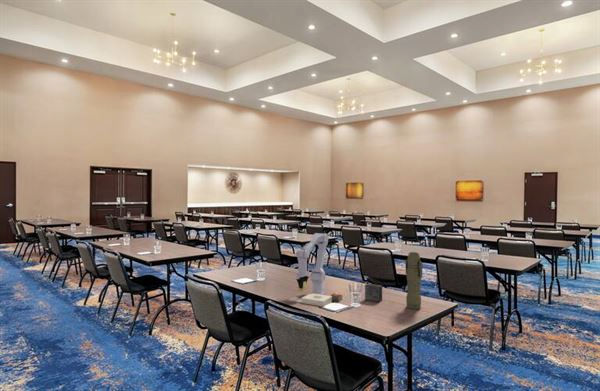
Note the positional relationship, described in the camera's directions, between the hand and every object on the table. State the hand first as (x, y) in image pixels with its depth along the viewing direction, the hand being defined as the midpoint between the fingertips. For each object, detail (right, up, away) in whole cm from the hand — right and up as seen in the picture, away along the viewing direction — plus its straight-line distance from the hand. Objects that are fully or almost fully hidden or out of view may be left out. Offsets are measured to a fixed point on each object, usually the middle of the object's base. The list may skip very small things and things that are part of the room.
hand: (302, 287), depth 245 cm
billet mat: (-4, -9, +1) cm, 10 cm away
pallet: (+10, -9, -4) cm, 14 cm away
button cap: (+23, -7, +2) cm, 24 cm away
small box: (+49, -9, +2) cm, 50 cm away
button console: (+23, -9, +2) cm, 25 cm away
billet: (0, -2, 0) cm, 2 cm away
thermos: (+71, -9, -13) cm, 73 cm away
